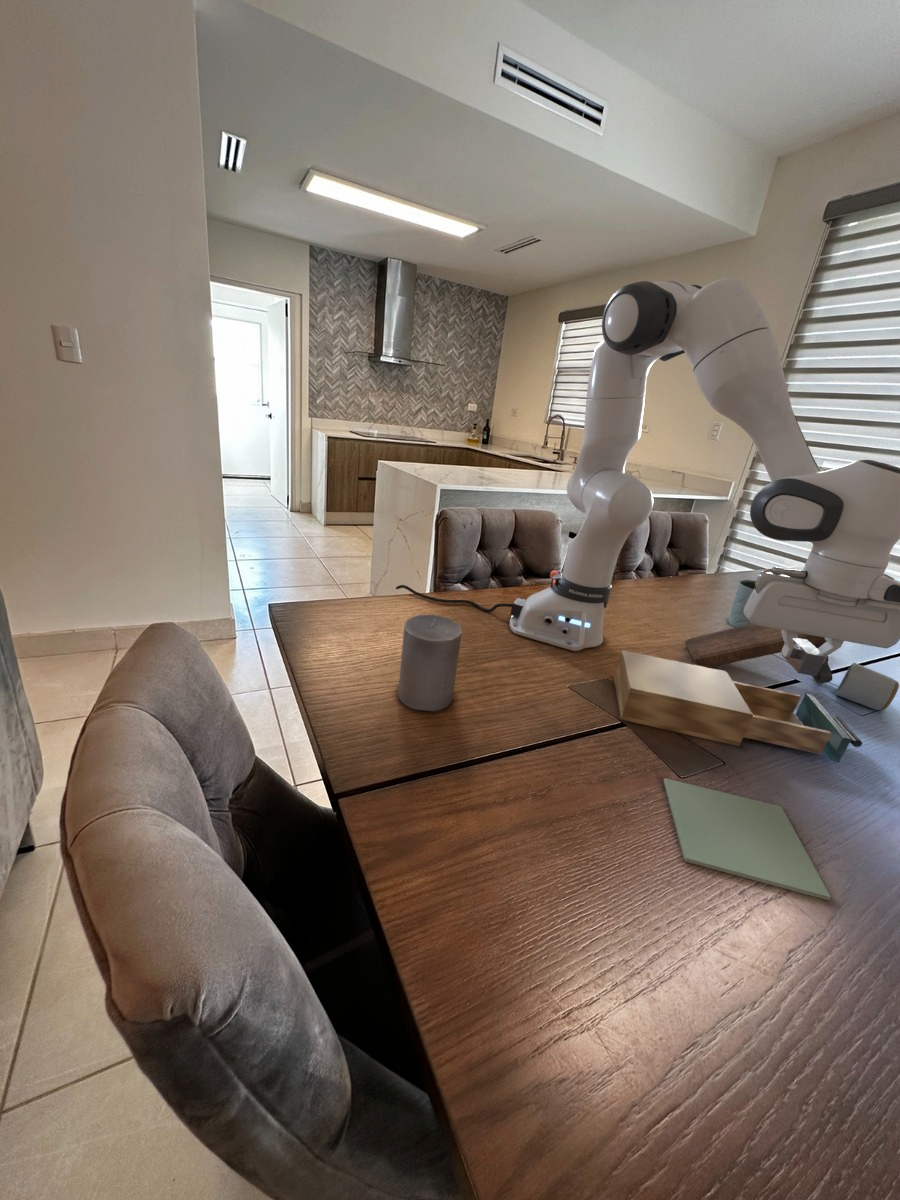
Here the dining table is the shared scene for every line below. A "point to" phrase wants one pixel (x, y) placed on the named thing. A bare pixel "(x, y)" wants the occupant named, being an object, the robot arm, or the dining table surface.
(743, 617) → the teal plant pot
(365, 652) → the dining table surface
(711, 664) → the small wooden bench
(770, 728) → the drawer
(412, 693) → the pillar candle
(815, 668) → the slate gray brick
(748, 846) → the mat
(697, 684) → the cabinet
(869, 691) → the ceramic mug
